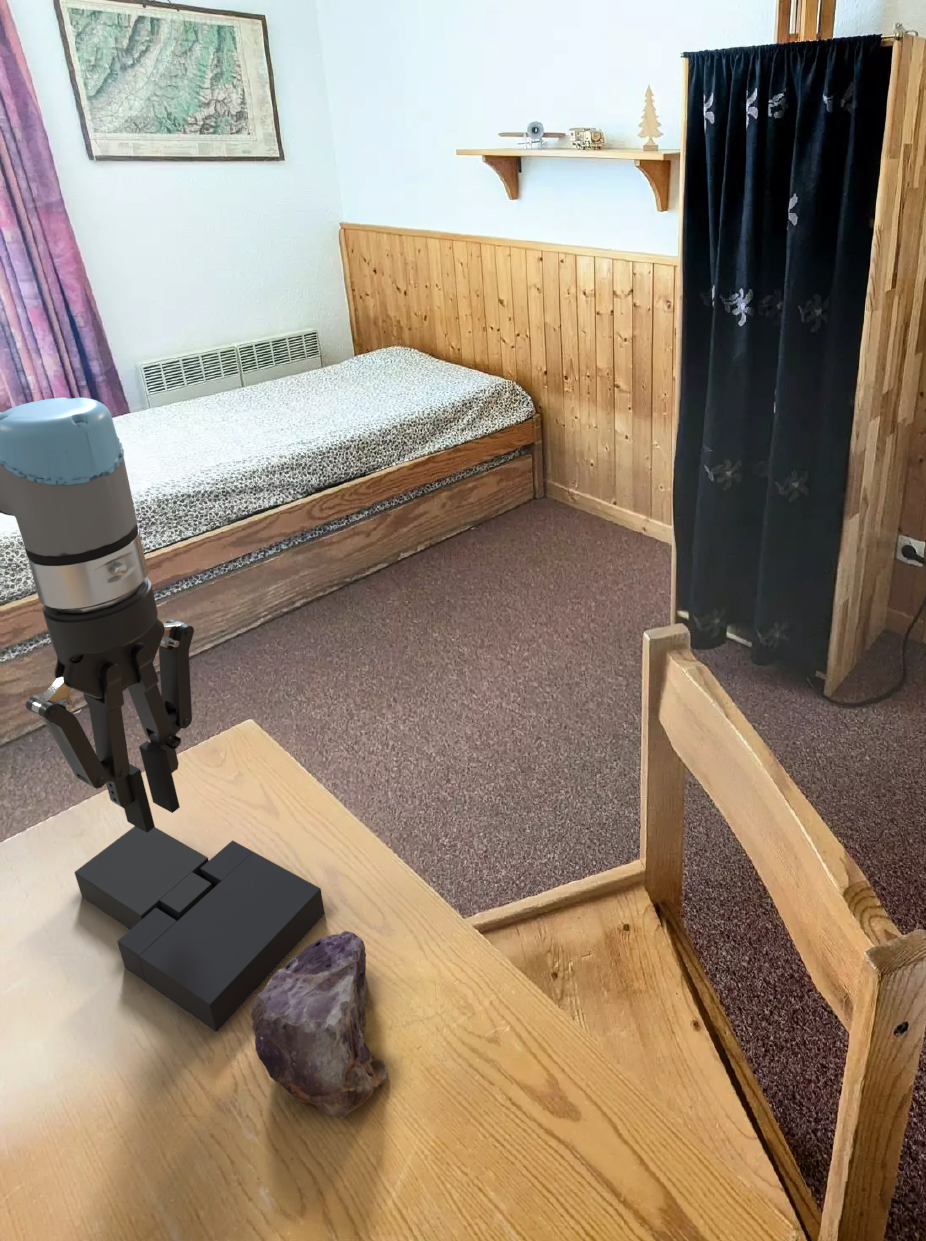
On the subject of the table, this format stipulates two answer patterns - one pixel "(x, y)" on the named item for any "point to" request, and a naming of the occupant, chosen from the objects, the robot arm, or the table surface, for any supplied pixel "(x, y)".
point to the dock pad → (224, 935)
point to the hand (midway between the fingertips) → (153, 814)
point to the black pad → (144, 877)
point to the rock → (319, 1027)
